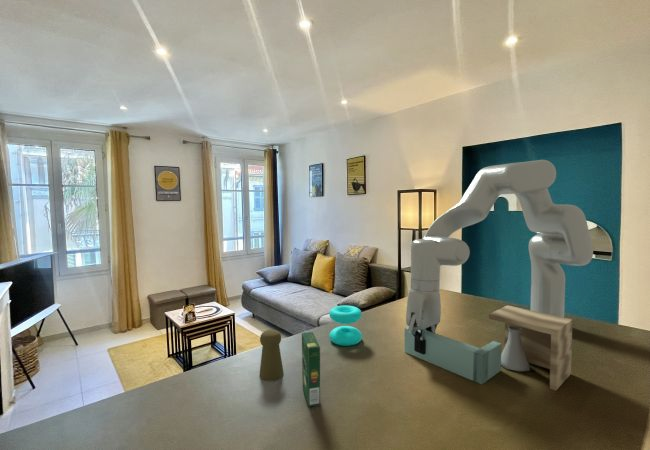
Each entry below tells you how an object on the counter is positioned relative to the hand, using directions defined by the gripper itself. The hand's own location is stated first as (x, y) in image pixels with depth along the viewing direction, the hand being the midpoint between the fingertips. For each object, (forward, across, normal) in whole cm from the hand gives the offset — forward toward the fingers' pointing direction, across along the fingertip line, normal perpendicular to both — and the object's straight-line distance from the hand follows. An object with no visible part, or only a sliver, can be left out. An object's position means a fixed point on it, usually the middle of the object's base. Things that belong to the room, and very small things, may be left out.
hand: (424, 350), depth 89 cm
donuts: (+2, +9, -22) cm, 24 cm away
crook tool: (+2, -3, +6) cm, 7 cm away
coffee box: (+3, +35, -5) cm, 35 cm away
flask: (+2, -14, +18) cm, 23 cm away
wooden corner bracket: (+2, -14, +21) cm, 25 cm away
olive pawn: (+3, +37, -19) cm, 42 cm away
